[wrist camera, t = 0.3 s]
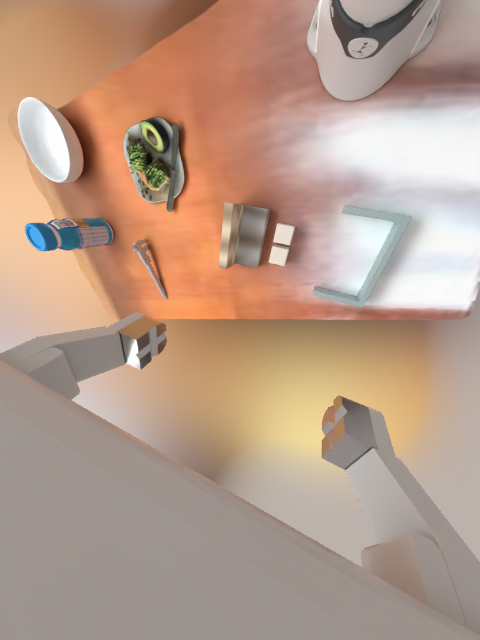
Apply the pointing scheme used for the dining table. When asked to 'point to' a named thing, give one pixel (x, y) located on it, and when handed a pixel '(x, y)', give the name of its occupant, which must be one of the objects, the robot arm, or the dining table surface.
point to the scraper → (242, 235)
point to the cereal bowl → (50, 141)
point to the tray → (379, 263)
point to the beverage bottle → (69, 234)
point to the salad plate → (155, 160)
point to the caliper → (148, 264)
